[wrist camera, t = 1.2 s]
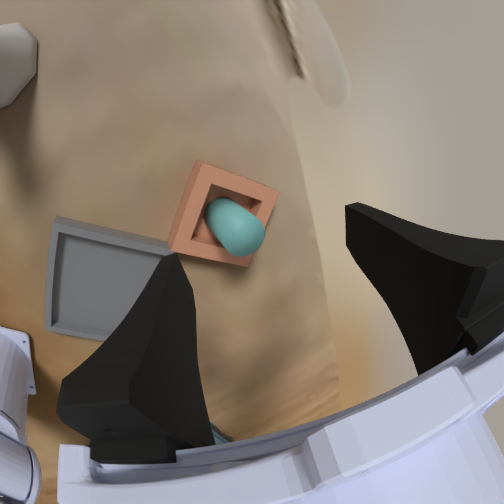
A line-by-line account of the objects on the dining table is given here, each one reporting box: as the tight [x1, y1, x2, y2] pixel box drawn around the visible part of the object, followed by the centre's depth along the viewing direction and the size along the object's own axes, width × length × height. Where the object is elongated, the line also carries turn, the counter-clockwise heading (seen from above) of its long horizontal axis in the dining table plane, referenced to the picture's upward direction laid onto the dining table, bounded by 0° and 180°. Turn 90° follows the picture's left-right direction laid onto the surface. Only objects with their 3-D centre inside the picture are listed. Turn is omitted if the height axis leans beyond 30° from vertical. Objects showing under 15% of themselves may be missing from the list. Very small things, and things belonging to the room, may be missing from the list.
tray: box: [45, 216, 176, 341], centre depth 21 cm, size 10×10×2 cm
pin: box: [203, 197, 265, 257], centre depth 21 cm, size 3×3×5 cm
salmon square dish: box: [168, 160, 280, 267], centre depth 23 cm, size 7×7×2 cm
